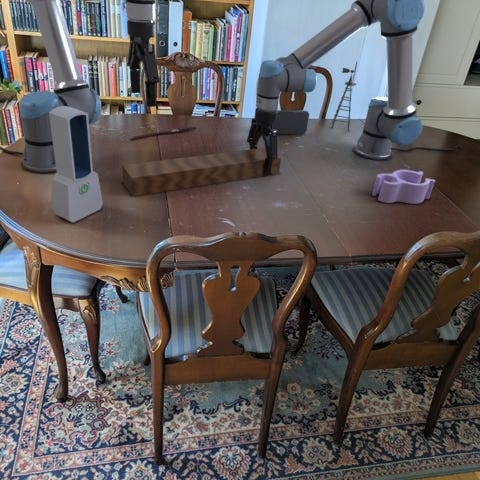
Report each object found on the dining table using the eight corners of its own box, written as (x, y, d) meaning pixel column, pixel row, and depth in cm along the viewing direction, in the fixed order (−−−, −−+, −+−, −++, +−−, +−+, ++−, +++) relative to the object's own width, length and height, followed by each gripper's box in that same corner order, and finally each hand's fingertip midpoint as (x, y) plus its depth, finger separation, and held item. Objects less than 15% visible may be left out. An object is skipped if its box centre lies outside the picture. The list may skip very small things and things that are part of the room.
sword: (193, 127, 202) (193, 124, 201) (196, 129, 200) (196, 126, 199) (126, 139, 186) (126, 136, 185) (130, 142, 184) (130, 139, 183)
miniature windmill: (349, 131, 218) (364, 64, 201) (331, 128, 219) (344, 61, 202) (349, 124, 225) (363, 60, 209) (331, 122, 226) (344, 57, 210)
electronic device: (70, 224, 129) (57, 118, 113) (51, 215, 132) (36, 111, 116) (103, 208, 138) (96, 107, 122) (85, 200, 141) (76, 101, 125)
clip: (385, 206, 156) (390, 187, 152) (365, 189, 166) (370, 171, 162) (433, 201, 162) (440, 184, 158) (412, 185, 172) (417, 168, 168)
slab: (132, 196, 146) (131, 178, 143) (123, 183, 153) (122, 165, 150) (278, 173, 171) (281, 157, 167) (264, 162, 178) (267, 147, 174)
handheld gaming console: (303, 131, 211) (307, 109, 206) (306, 133, 209) (310, 111, 204) (256, 132, 204) (259, 110, 199) (258, 135, 202) (261, 112, 197)
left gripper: (171, 28, 118) (171, 111, 129) (139, 13, 136) (141, 87, 147) (143, 28, 114) (145, 113, 126) (114, 12, 132) (118, 88, 144)
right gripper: (241, 99, 166) (235, 158, 178) (275, 120, 150) (266, 183, 162) (259, 98, 169) (252, 155, 181) (294, 118, 153) (284, 180, 165)
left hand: (143, 99), depth 137 cm, fingers open, 13 cm apart
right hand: (259, 168), depth 171 cm, fingers closed on slab, 10 cm apart
